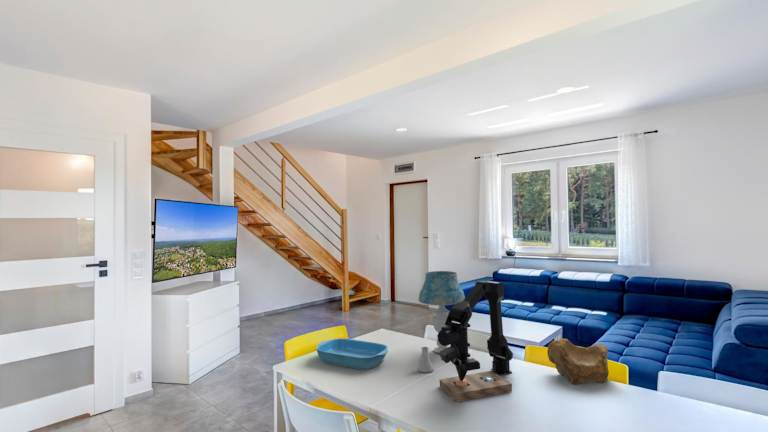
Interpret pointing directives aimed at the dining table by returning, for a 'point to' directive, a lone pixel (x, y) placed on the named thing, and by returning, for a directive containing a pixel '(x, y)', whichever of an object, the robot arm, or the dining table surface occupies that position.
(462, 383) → the peach rounded cylinder
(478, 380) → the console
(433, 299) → the table lamp
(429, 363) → the flask
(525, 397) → the dining table surface
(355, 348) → the casserole dish
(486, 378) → the steel plunger
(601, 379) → the rough brown rock
